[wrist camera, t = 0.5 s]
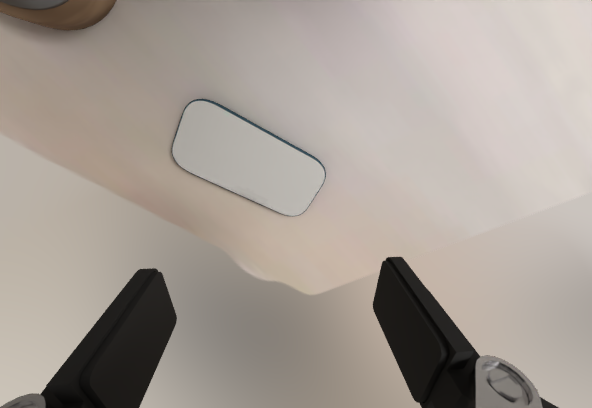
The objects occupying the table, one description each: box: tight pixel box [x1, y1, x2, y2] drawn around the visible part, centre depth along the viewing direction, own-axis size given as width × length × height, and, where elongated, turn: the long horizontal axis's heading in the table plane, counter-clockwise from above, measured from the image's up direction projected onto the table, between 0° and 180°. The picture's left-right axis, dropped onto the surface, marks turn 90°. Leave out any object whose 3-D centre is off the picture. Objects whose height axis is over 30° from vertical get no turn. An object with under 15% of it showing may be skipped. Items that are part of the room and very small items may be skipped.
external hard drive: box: [172, 99, 326, 216], centre depth 36 cm, size 24×12×2 cm, turn 61°
